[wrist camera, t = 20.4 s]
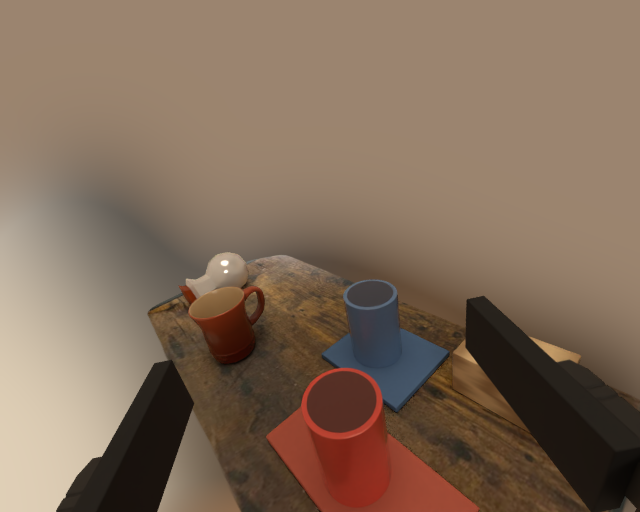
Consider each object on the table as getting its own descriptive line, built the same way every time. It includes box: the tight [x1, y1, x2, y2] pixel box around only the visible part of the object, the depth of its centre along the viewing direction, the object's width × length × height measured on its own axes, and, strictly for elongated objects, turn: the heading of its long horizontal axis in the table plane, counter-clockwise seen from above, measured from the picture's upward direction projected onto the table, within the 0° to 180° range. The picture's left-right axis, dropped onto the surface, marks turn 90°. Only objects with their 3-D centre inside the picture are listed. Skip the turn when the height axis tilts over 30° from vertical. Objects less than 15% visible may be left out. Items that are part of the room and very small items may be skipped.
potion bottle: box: [179, 252, 249, 304], centre depth 68 cm, size 9×10×15 cm
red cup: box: [301, 368, 392, 508], centre depth 29 cm, size 7×7×10 cm
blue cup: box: [343, 280, 402, 368], centre depth 43 cm, size 7×7×10 cm
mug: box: [188, 286, 265, 364], centre depth 50 cm, size 12×9×10 cm
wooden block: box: [452, 336, 581, 433], centre depth 35 cm, size 10×8×6 cm
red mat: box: [266, 407, 479, 512], centre depth 31 cm, size 20×10×1 cm, turn 40°
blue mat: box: [322, 328, 449, 412], centre depth 44 cm, size 14×12×1 cm
